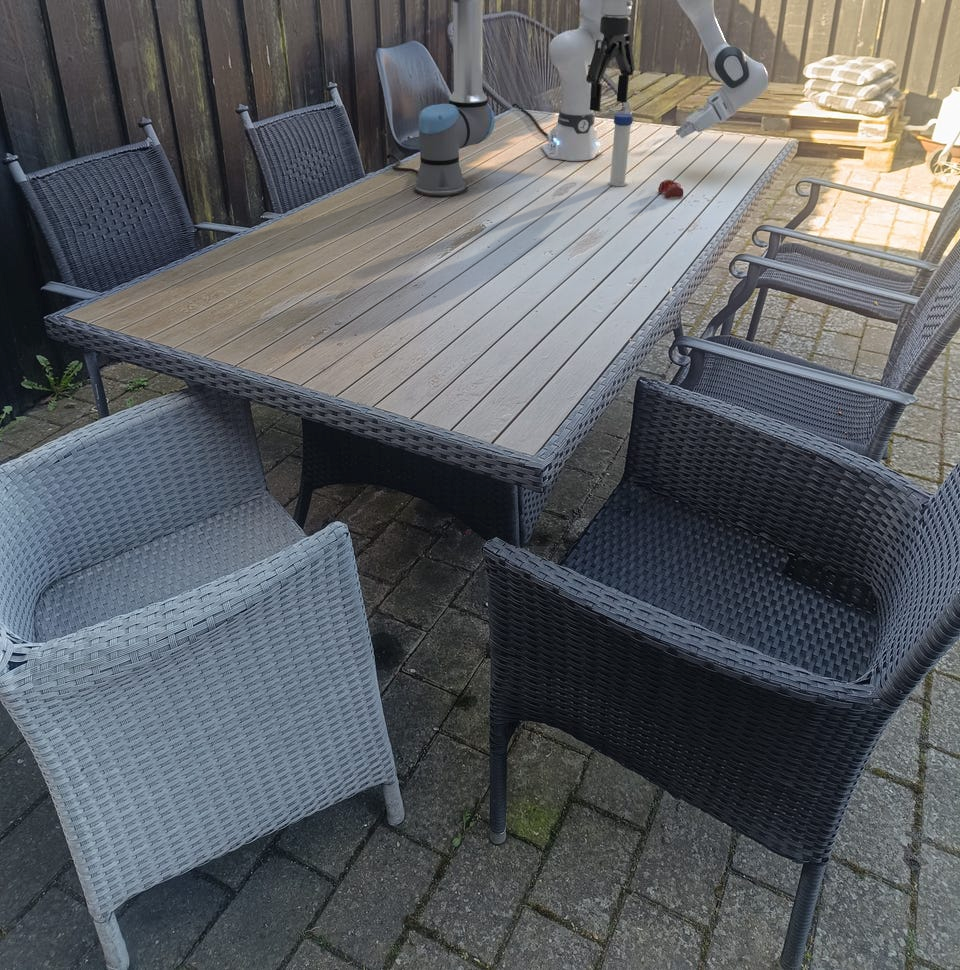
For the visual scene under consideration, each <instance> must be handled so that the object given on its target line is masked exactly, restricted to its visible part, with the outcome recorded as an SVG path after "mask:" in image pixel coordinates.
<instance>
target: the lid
mask: <svg viewBox="0 0 960 970" xmlns="http://www.w3.org/2000/svg"><path fill="white" fill-rule="evenodd" d="M633 120H634V115H633V114H631V113H625V112H619V113H618V112H617V113H615V114H614V116H613V123H614V125H615V124H617V125H631V126H632V124H633Z"/></svg>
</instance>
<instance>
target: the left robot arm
mask: <svg viewBox="0 0 960 970" xmlns="http://www.w3.org/2000/svg"><path fill="white" fill-rule="evenodd" d="M483 1H484V0H451V3H452V4H451V5H452V54H453V58H452V59H453V60H452V61H453V92H452V94H451V95H450V96H449V97H448V103H438V104H431V105H428V106H426V107H424V108H423V109H422V110H421V111H420V112H419V114H418V115H419V116H418V126H417V127H418V137H419V138H418V139H419V157H420V158H419V159H420V161H419V162H420V164H419V168H418V170H417V169H415V168H411V167H399V165H400V163H401V160H400V159H399V157H398V156H397V155H395V154H393V153H388V154H387V155H386V159H390V158H393V159H394V160H395V161H396V162H395V163H393V164H392V165H394V164H395V165H394V166H391V168H392V169H393V170H395V171H399V172H411V173H415V174H417V176H416V180H415V185H414V186H415V192H417V193H418V194H420V195H424V196H430V197H450V196H455V195H459V194H461V193H463V192H464V191H466V181H465V179H464V176H463V172H462V169H461V165H460V149H463V148H467V147H470V146H474V145H475V146H476V145H479V144H480V143H482V142H484V141H486V140H487V139H488V138H489V137H490V136H491V135H492V133H493V131H494V128H495V123H496V117H495V113H494V110H492V106H491V105H490V104H489V103H488V96H487V95H486V94H485V93H484V91H483V16H484V15H483V14H484V13H483V8H484V7H483V3H484V2H483ZM632 6H633V0H602V8H601V14H602V15H603V17H602V18H601V23H600V32H601V33H602V34H603V35H604V38H603V40H596V45H595V51H594V54H593V58H592V61H591V65H589V67H588V75H587V78H586V81H587V82H588V83H591V98H590V110H594V112H595V111H596V112H600V111H601V102H602V88H603V84H602V83H601V81H602V80H603V77H604V75H605V72H606V70H607V68H608V65H609V63H610V61H612V60H613V59H614V58H615V60H616V63H617V67H618V70H619V72H620V74H619V75H618V79H617V80H618V82H617V92H616V102H619V103H627V101H628V94H629V93H628V91H629V82H630V79H629V78H630V77H632V76H634V72H635V70H636V69H635V62H634V55H633V47H632V35H631V34H629V33H630V29H631V18H630V15H631V14H632Z"/></svg>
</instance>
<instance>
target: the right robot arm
mask: <svg viewBox="0 0 960 970" xmlns="http://www.w3.org/2000/svg"><path fill="white" fill-rule="evenodd" d="M676 1H677V3H678V5H679V6H680V8H681V9H682V11H683V12H684V14H685V15H686V16H687V18H688V19H689V20H690V22H691V23H692V25H693V27H694V28H695V31H696V33H697V35H698V38H699V40H700V42H701V45H702V47H703V50H704V52H705V57H706V71H707V75H708V77H710V78H711V80H713V81H714V82H717V83H719V84H720V83H721V85H722V86H721V87H720V88H718V89H717V90H715V91H713V92H712V93H711V94H710V95H708V96H707V97H706V103H704V104H703V106H701V107H699V108H698V109H697V110H695V111H693V112H692V113H691V114H689V115H687V117H686V118H685V121H686V122H684V123H683V124H682V125H681V126H680V127H678V128H677V129H676V130H675V134H676V135H677V136H679V137H680V138H681V139H685V138H686V137H687V136H689V135H691V134H693V133H695V132H697V133H701V132H704V131H706V130H707V129H710V128H711V127H714V126H715V125H716V124H718V123H720V124H722V123H724V122H725V121H726V120H728V119H729V118H730V117H732V116H733V115H735V114H736V113H737V112H738V111H739V110H740V109H741V108H743V107H746V106H748V105H750V104H751V103H752V102H754V101H755V100H757V99H758V98H760V96H761V95H762V94H764V93H765V92H766V91H767V89H768V87H769V84H770V82H769V81H770V79H769V74H768V71H767V69H766V66H765V65H764V64H763V63H762V62H758V61H756V60H754V59H753V58H751V57H750V56H749V55H747V54H746V53H745V52H744V51H743V50H742V49H741V48H740V47H738V46H733V45H730V44H729V43H728V42H727V41H726V39H725V37H724V34H723V32H722V30H721V27H720V25H719V22H718V21H717V17H716V15H715V8H714V7H715V6H714V5H715V0H676ZM578 7H579V10H580V12H581V13H582V14H581V21H580V25H579V26H578V28H576V29H570V30H569V29H568V30H565V31H563V32H561V33H559V34H558V35H556V36H555V37H554V38H552V40H551V41H550V43H549V47H548V55H549V56H548V57H549V59H550V62H551V63H552V65H553V66H554V67H555V68H556V70H557V73H558V76H559V81H560V88H561V91H560V92H561V93H560V111H558V116H557V123H556V125H555V126H554V127H553V128H552V129H551V130H550V131H549V133H547V132H546V131H544V130H543V128H542V127H541V126H540V125H539V123H538V122H537V120H536V119H535V118H534V117H533V115H532V114H531V113H530V112H529V111H527V110H526V109H524V108H523V107H522V106H520V105H519V104H518V103H516V102H514V103H513V104H512V107H514V108H515V107H516V108H517V109H518V110H520V111H522V112H523V113H525V114H526V115H527V116H528V117H529V118H531V120H532V121H533V123H534V124H535V126H536V127H537V129H538V130H539V131H540V132H541V133H542V134H543V135H544V136H545V137H546V141H547V142H548V143H545V144H542V145H541V149H542V150H543V152H544V153H545V155H546V156H547V157H548V159H552V160H553V159H554V160H562V161H570V162H581V161H583V162H584V161H589V160H592V159H595V158H596V157H597V156H599V155H601V150H599V149H598V146H601V143H600V142H598V130H597V128H596V127H595V126H594V125H595V119H596V113H595V111H594V110H590V98H591V83H588V82H587V81H586V78H587V75H588V71H589V66H590V65H591V61H592V58H593V54H594V51H595V45H596V40H603V38H604V35H603V34H602V33H601V32H600V23H601V18H602V17H603V15H602V14H601V8H602V0H579V5H578Z"/></svg>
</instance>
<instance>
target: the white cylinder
mask: <svg viewBox="0 0 960 970" xmlns="http://www.w3.org/2000/svg"><path fill="white" fill-rule="evenodd" d="M631 127H632V124H631V125H617V124H614V129H613V130H614V131H613V142H612V153H611V164H610V175H609V176H610V177H609V185H610V186H612V187H623V186H626V178H627V168H628V159H629V158H628V157H629V148H630V140H631V139H630V138H631Z"/></svg>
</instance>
